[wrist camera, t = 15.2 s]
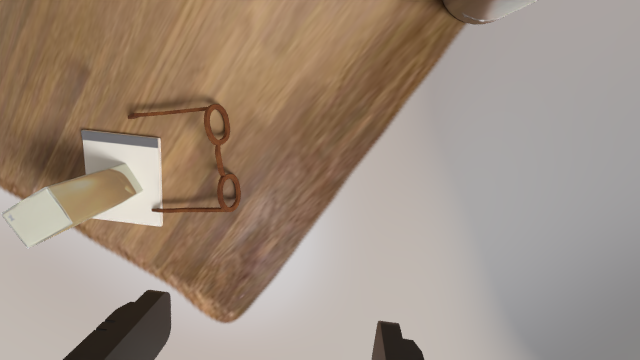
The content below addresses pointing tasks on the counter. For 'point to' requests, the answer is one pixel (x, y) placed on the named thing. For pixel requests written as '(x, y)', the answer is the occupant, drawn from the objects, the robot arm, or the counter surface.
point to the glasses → (217, 153)
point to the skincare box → (70, 203)
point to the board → (143, 164)
